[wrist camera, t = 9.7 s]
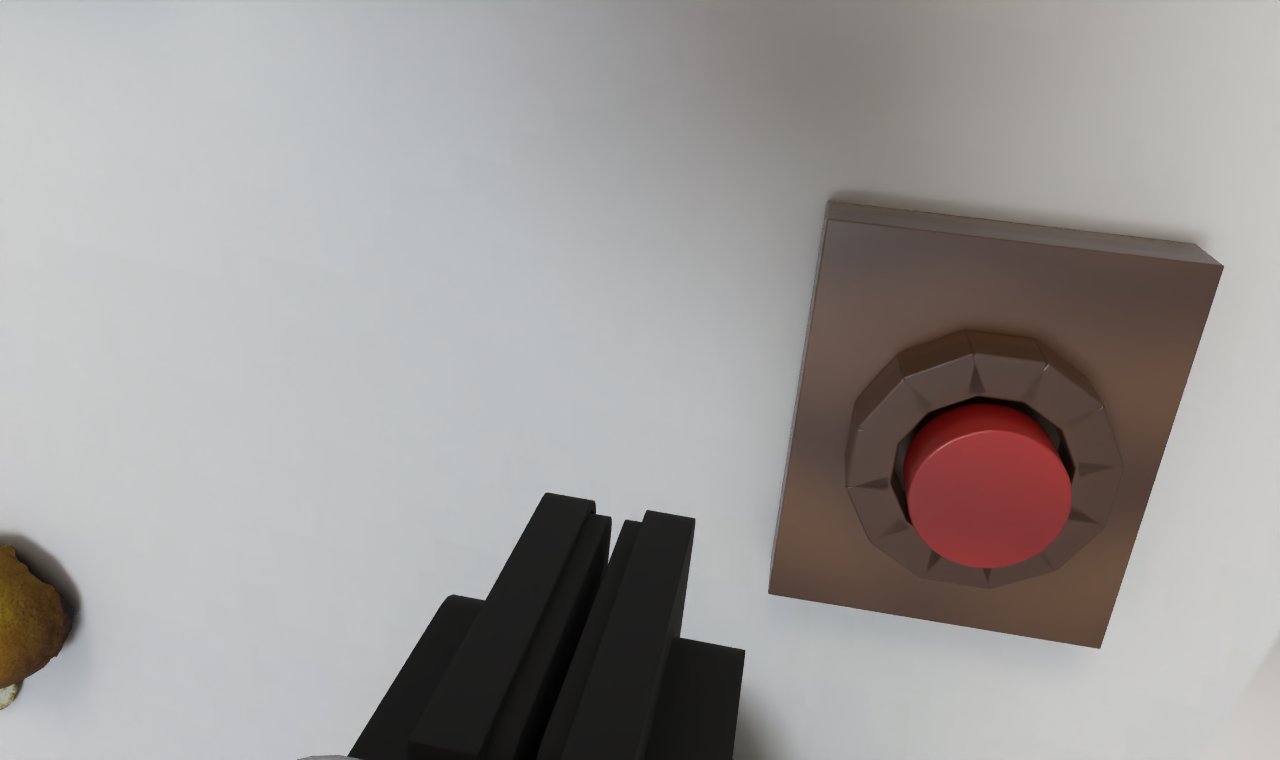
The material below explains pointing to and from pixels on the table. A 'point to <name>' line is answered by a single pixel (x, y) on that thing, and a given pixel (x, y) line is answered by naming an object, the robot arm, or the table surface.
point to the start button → (986, 486)
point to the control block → (982, 373)
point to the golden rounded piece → (27, 623)
